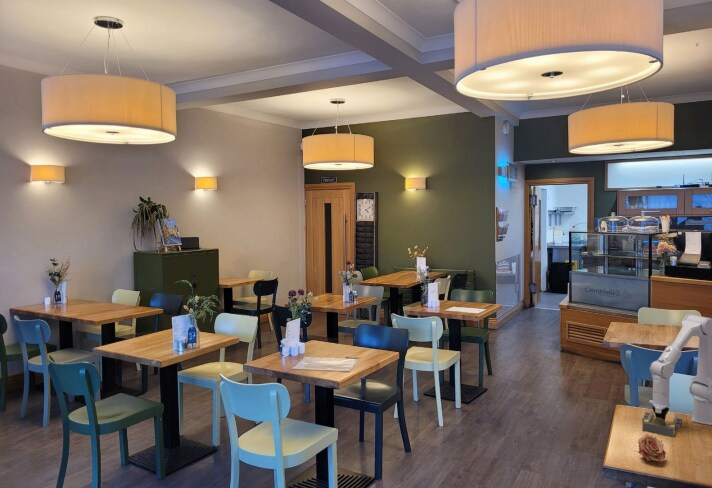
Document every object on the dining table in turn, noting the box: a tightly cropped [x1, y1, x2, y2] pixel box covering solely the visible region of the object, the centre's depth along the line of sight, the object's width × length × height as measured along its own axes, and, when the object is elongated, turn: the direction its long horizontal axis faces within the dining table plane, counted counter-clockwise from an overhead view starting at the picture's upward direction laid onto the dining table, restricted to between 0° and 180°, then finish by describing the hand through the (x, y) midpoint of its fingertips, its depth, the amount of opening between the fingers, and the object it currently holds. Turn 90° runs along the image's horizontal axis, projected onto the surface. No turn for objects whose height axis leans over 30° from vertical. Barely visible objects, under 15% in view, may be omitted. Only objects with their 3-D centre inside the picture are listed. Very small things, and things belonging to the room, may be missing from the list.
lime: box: [651, 417, 667, 425], centre depth 212 cm, size 4×5×5 cm
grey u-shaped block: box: [641, 410, 683, 438], centre depth 217 cm, size 13×20×3 cm, turn 144°
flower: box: [635, 433, 667, 464], centre depth 187 cm, size 10×9×8 cm
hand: (660, 425), depth 214 cm, fingers closed, pressing on lime
